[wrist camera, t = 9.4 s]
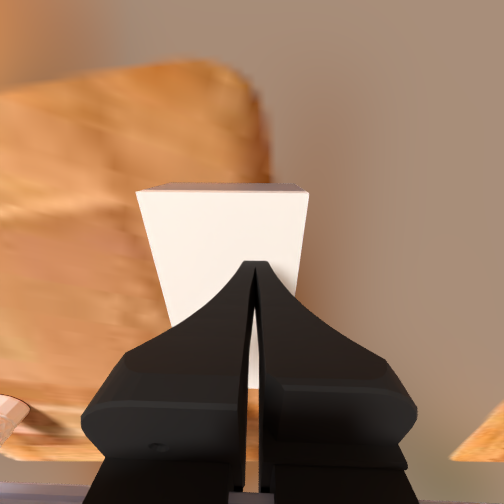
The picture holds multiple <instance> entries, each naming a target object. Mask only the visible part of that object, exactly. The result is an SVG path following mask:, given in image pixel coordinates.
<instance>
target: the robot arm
mask: <svg viewBox="0 0 504 504" xmlns="http://www.w3.org/2000/svg"><path fill="white" fill-rule="evenodd" d="M254 310H255V316H256V327H257V338H258V351H259V493H250V492H249V493H248V492H243V487H244V486H245V464H246V433H247V403H248V375H249V352H250V343H251V334H252V326H253V318H254ZM416 420H417V406H416V405H415V403H414V402H413V400H412V399H411V397H410V396H409V394H408V392H407V391H406V389H405V387H404V386H403V384H402V383H401V381H400V380H399V378H398V376H397V375H396V374H395V372H394V371H393V370H392V368H391V367H390V366H389V364H388V363H387V361H386V360H385V359H383V358H381V357H380V356H378V355H376V354H374V353H373V352H371V351H369V350H367V349H366V348H364V347H362V346H360V345H359V344H357V343H355V342H353V341H352V340H350V339H348V338H347V337H345V336H344V335H342V334H341V333H339V332H338V331H336V330H335V329H333V328H332V327H330V326H329V325H327V324H326V323H325V322H323V321H322V320H321V319H319V318H318V317H316V316H315V315H314V314H313V313H312V312H310V311H309V310H308V309H307V308H306V307H304V306H303V305H302V304H301V303H300V302H299V301H298V300H297V299H296V298H295V297H294V296H293V295H292V294H291V293H290V292H289V290H288V289H287V288H286V287H285V286H284V285H283V283H282V282H281V281H280V279H279V278H278V277H277V275H276V274H275V272H274V271H273V269H272V268H271V266H270V264H269V262H268V261H245V260H244V261H243V262H242V264H241V265H240V267H239V268H238V270H237V271H236V273H235V274H234V275H233V276H232V278H231V279H230V280H229V281H228V283H227V284H226V285H225V286H224V287H223V288H222V289H221V290H220V291H219V292H218V293H217V294H216V295H215V296H214V297H213V298H212V299H211V300H210V301H209V302H208V303H206V304H205V305H204V306H203V307H201V308H200V309H199V310H197V311H196V312H195V313H193V314H192V315H191V316H189V317H188V318H186V319H185V320H183V321H182V322H180V323H179V324H177V325H176V326H174V327H172V328H171V329H169V330H167V331H166V332H164V333H162V334H160V335H159V336H157V337H155V338H153V339H151V340H149V341H147V342H145V343H144V344H142V345H140V346H138V347H136V348H134V349H132V350H130V351H128V352H126V353H125V354H124V355H123V357H122V358H121V359H120V361H119V362H118V363H117V364H116V366H115V367H114V368H113V370H112V371H111V373H110V374H109V376H108V377H107V379H106V380H105V382H104V383H103V385H102V386H101V388H100V389H99V391H98V392H97V393H96V395H95V396H94V398H93V399H92V401H91V402H90V404H89V405H88V407H87V408H86V410H85V411H84V413H83V414H82V415H81V428H82V430H83V432H84V433H85V435H86V436H87V437H88V439H89V440H90V441H91V442H92V443H93V444H94V445H95V446H96V447H97V448H98V450H99V451H100V452H101V453H102V454H103V455H104V456H105V459H104V461H103V463H102V465H101V467H100V469H99V471H98V473H97V475H96V477H95V479H94V481H93V483H92V485H69V484H48V483H24V482H3V481H0V504H498V503H474V502H453V501H452V502H451V501H430V500H418V499H417V497H416V495H415V493H414V491H413V489H412V487H411V484H410V482H409V480H408V478H407V476H406V474H405V472H404V470H407V468H408V465H407V462H406V460H405V457H404V455H403V453H402V451H401V449H400V447H399V445H398V443H399V442H400V441H401V440H402V439H403V438H404V436H405V435H406V434H407V433H408V432H409V431H410V429H411V428H412V427H413V425H414V423H415V422H416Z"/></svg>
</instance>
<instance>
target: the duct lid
mask: <svg viewBox="0 0 504 504" xmlns="http://www.w3.org/2000/svg"><path fill="white" fill-rule="evenodd" d="M136 195H137V199H138V202H139V206H140V210H141V214H142V217H143V221H144V225H145V228H146V232H147V236H148V240H149V243H150V247H151V251H152V255H153V258H154V262H155V266H156V269H157V273H158V277H159V281H160V284H161V288H162V292H163V295H164V299H165V303H166V307H167V310H168V314H169V318H170V321H171V325H172V327H174V326H176V325H177V324H179V323H180V322H182V321H183V320H185V319H186V318H188V317H189V316H191V315H192V314H193V313H195V312H196V311H197V310H199V309H200V308H201V307H203V306H204V305H205V304H206V303H208V302H209V301H210V300H211V299H212V298H213V297H214V296H215V295H216V294H217V293H218V292H219V291H220V290H221V289H222V288H223V287H224V286H225V285H226V284H227V283H228V281H229V280H230V279H231V278H232V276H233V275H234V274H235V273H236V271H237V270H238V268H239V267H240V265H241V264H242V262H243V261H244V260H245V261H268V262H269V264H270V266H271V268H272V269H273V271H274V272H275V274H276V275H277V277H278V278H279V279H280V281H281V282H282V283H283V285H284V286H285V287H286V288H287V289H288V290H289V292H290V293H291V294H292V295H293V296H294V297H295V292H296V285H297V278H298V270H299V264H300V256H301V249H302V242H303V235H304V228H305V221H306V214H307V207H308V200H309V193H308V192H306V191H219V190H141V191H137V192H136ZM248 388H255V389H259V351H258V338H257V327H256V316H255V310H254V318H253V326H252V334H251V343H250V352H249V375H248Z"/></svg>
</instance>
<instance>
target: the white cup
mask: <svg viewBox="0 0 504 504" xmlns="http://www.w3.org/2000/svg"><path fill="white" fill-rule="evenodd" d="M29 411H30V408H29V407H28V405H27V404H25V403H24V402H22V401H20V400H18V399H16V398H13V397H10V396H6V395H0V447H1V446H2V444H3V443H4V442H5V441H6V440H7V439H8V437H9V436H10V435H11V434H12V432H13V431H14V429H15V428H16V427H17V426H18V425H19V424H20V422H21V421H22V420H23V419H24V418H25V417H26V416H27V414H28V413H29Z"/></svg>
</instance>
